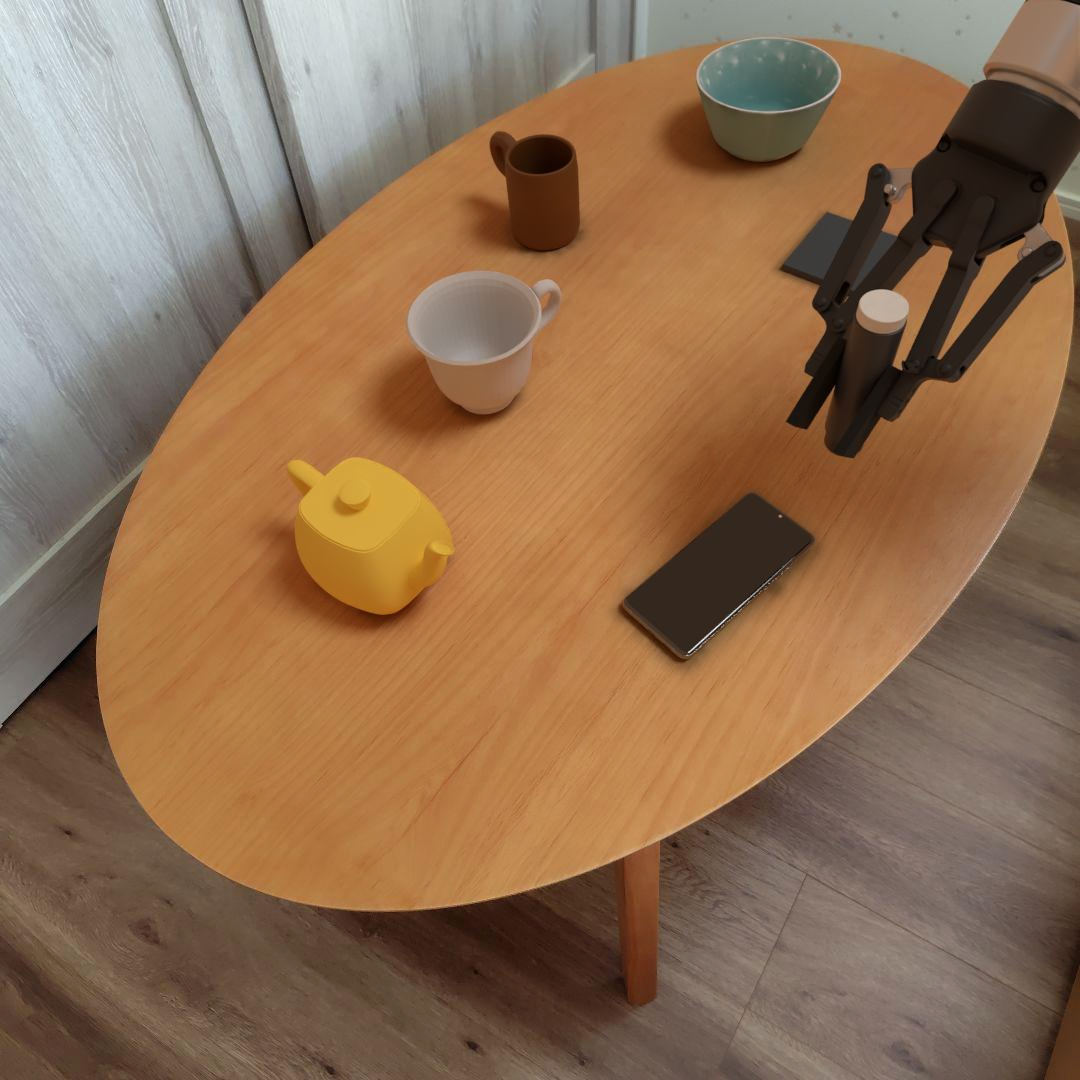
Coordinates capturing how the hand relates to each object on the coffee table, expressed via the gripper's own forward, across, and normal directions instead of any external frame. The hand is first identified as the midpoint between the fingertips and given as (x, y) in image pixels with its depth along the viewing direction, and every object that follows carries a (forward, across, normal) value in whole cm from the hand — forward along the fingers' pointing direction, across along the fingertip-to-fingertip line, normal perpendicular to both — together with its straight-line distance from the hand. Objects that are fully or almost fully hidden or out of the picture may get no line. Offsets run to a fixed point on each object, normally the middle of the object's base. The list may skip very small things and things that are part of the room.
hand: (820, 439), depth 64 cm
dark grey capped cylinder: (0, 0, -5) cm, 5 cm away
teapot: (+28, +24, +5) cm, 37 cm away
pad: (-13, +18, -36) cm, 42 cm away
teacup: (+13, +33, -10) cm, 37 cm away
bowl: (-21, +39, -44) cm, 62 cm away
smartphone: (+15, +3, -8) cm, 17 cm away
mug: (-1, +48, -24) cm, 54 cm away
